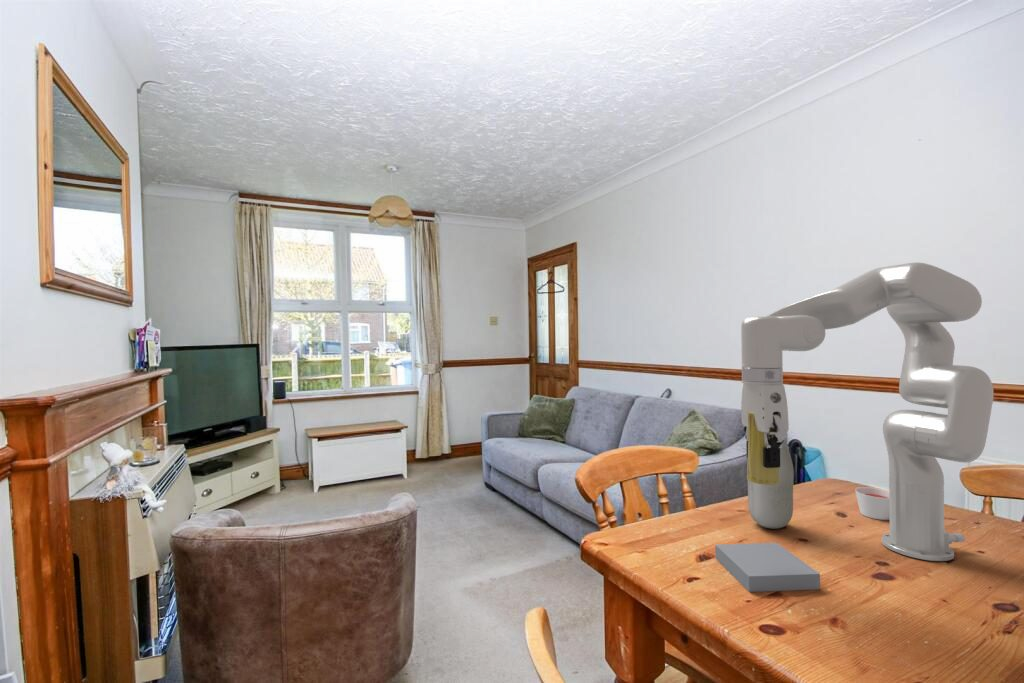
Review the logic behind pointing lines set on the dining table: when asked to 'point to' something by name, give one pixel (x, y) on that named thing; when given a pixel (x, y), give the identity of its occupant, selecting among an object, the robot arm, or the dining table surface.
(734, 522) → the dining table surface
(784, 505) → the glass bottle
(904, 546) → the robot arm
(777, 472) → the vase
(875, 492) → the candle
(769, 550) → the plinth
